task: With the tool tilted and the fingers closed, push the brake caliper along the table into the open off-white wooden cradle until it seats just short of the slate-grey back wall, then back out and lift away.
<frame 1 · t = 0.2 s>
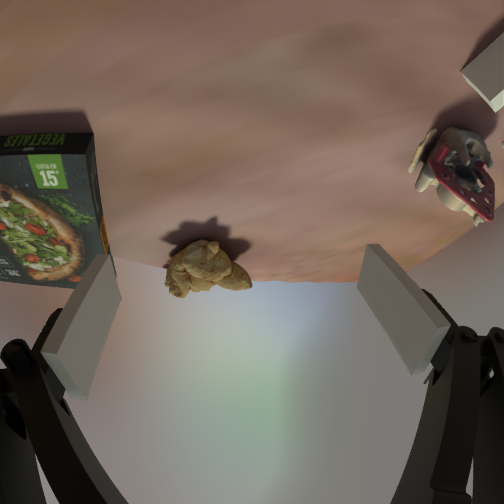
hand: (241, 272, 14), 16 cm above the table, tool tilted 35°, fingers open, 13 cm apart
pizza box: (8, 220, 31), on the table
ginger root: (201, 253, 47), on the table
brake caliper: (446, 149, 28), on the table
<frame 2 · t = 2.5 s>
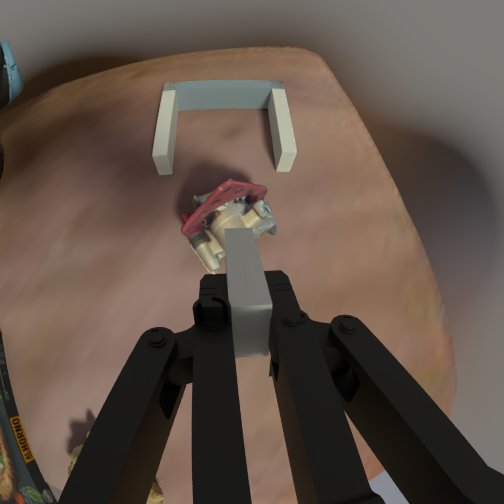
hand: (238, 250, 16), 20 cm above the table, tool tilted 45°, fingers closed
cradle: (223, 137, 42), on the table
ginger root: (116, 477, 26), on the table
brake caliper: (226, 228, 38), on the table
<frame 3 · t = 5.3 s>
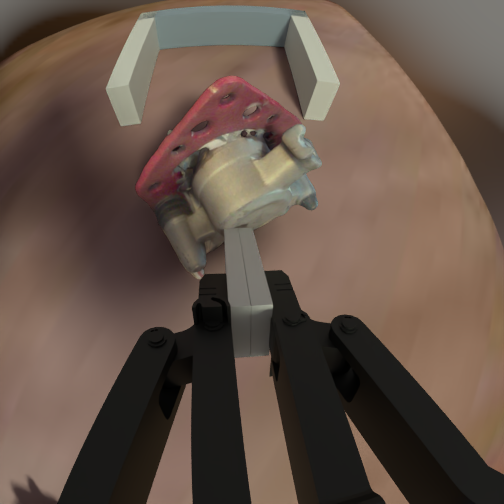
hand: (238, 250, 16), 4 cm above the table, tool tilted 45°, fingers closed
cradle: (221, 74, 25), on the table
brake caliper: (226, 199, 22), on the table, touching gripper
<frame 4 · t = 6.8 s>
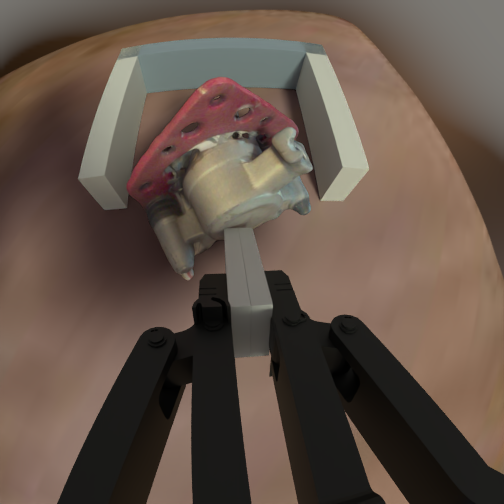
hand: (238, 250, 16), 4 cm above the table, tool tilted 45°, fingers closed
cradle: (221, 135, 23), on the table
brake caliper: (220, 200, 21), on the table, touching gripper
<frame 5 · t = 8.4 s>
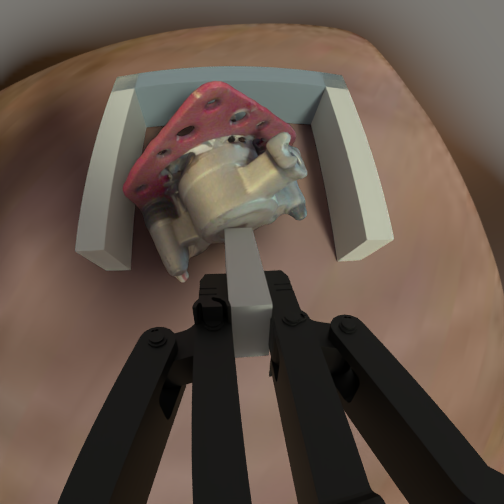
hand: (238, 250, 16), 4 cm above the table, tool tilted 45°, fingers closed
cradle: (231, 183, 22), on the table
brake caliper: (217, 203, 21), on the table, touching gripper
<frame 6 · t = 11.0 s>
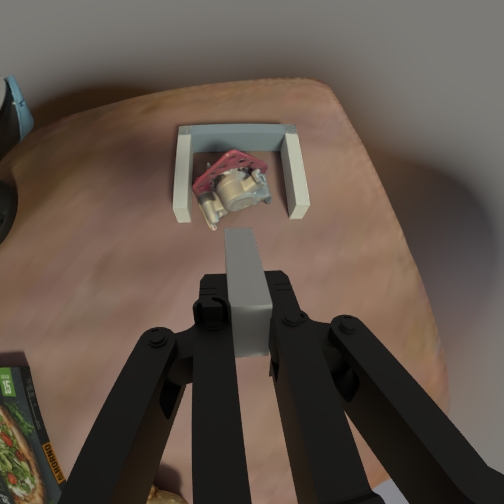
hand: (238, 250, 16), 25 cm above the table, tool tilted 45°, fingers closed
pizza box: (1, 449, 27), on the table
cradle: (238, 183, 45), on the table
ginger root: (145, 493, 30), on the table
brake caliper: (231, 196, 45), on the table
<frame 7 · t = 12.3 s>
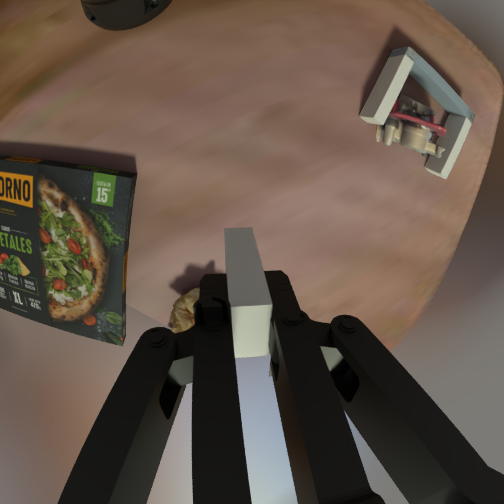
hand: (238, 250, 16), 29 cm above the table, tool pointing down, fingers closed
pizza box: (48, 248, 45), on the table
cradle: (413, 116, 40), on the table
ginger root: (202, 308, 54), on the table
brake caliper: (401, 123, 41), on the table
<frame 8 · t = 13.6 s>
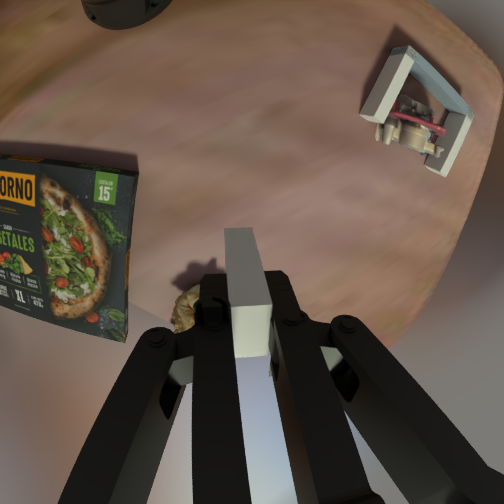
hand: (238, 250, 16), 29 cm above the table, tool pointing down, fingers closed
pizza box: (51, 246, 45), on the table
cradle: (413, 114, 40), on the table
ginger root: (203, 305, 55), on the table
brake caliper: (401, 122, 41), on the table
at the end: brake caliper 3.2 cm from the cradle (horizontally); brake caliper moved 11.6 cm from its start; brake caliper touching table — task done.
